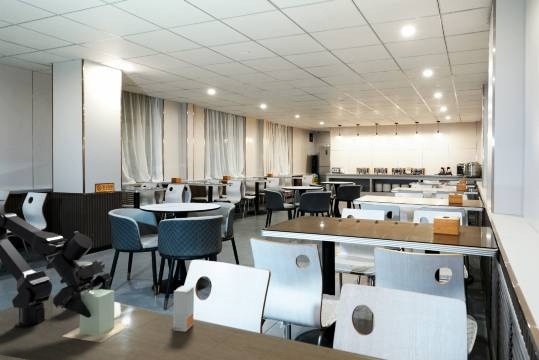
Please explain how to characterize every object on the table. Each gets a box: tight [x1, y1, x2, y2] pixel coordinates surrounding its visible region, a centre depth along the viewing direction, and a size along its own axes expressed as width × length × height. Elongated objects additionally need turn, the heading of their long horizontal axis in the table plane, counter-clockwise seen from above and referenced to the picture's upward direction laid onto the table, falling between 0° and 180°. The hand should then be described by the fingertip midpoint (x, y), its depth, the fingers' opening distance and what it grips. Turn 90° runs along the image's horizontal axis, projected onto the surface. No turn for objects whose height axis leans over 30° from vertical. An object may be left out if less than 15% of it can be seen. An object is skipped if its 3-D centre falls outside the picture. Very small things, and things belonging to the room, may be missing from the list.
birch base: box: [61, 322, 130, 343], centre depth 118 cm, size 13×13×6 cm
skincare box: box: [172, 285, 195, 332], centre depth 123 cm, size 6×4×12 cm
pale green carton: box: [79, 289, 115, 336], centre depth 118 cm, size 7×7×11 cm
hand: (101, 311), depth 118 cm, fingers open, 9 cm apart
